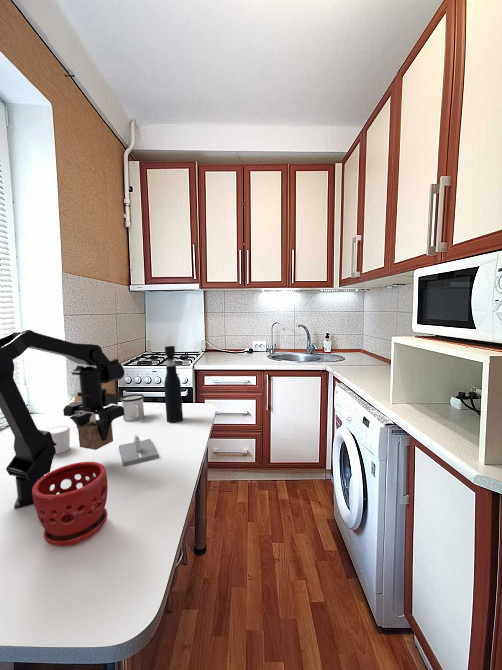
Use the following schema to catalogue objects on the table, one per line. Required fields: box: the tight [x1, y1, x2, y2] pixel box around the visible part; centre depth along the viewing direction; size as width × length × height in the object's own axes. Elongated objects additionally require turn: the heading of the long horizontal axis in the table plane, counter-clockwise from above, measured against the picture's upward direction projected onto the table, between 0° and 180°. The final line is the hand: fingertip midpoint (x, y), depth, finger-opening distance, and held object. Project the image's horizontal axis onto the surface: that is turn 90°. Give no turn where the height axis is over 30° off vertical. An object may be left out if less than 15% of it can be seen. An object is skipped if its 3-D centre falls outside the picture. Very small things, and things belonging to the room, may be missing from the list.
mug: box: [119, 393, 145, 422], centre depth 138 cm, size 12×9×9 cm
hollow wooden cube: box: [77, 419, 114, 451], centre depth 98 cm, size 6×6×6 cm
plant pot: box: [32, 461, 109, 548], centre depth 67 cm, size 13×13×12 cm
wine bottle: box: [163, 345, 184, 424], centre depth 132 cm, size 6×6×30 cm
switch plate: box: [118, 434, 159, 466], centre depth 104 cm, size 14×10×6 cm
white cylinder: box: [47, 425, 71, 455], centre depth 110 cm, size 7×7×7 cm
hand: (96, 439), depth 98 cm, fingers closed on hollow wooden cube, 6 cm apart
